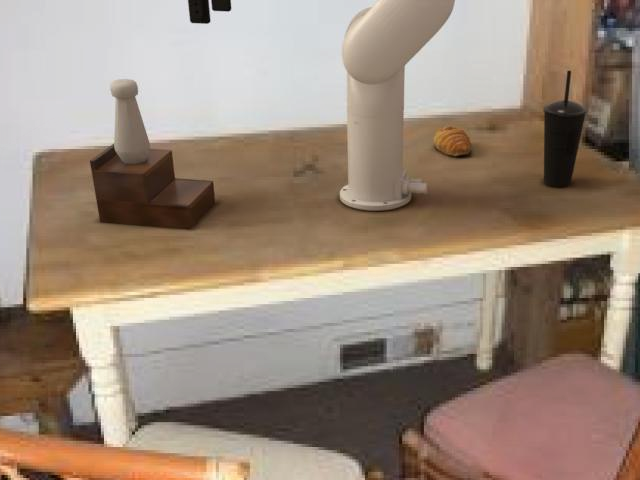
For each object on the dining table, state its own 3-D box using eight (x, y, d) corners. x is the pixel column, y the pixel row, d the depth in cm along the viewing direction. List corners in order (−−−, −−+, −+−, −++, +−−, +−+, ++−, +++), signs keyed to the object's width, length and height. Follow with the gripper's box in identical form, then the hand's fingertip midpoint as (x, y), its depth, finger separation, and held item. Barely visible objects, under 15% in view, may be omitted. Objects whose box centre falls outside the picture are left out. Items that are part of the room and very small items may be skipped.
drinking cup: (583, 179, 171) (596, 68, 161) (572, 192, 166) (586, 78, 155) (542, 173, 174) (553, 63, 164) (530, 186, 168) (541, 74, 158)
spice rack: (215, 202, 163) (209, 143, 157) (190, 229, 153) (183, 167, 147) (130, 196, 165) (121, 137, 160) (99, 222, 156) (89, 160, 150)
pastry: (479, 156, 183) (480, 137, 181) (447, 160, 181) (447, 141, 179) (460, 141, 190) (461, 123, 188) (429, 145, 188) (430, 127, 186)
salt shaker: (143, 166, 152) (132, 86, 145) (110, 164, 153) (98, 84, 146) (157, 155, 157) (147, 76, 150) (125, 153, 158) (114, 75, 151)
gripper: (203, -97, 132) (214, 29, 141) (242, -108, 147) (250, 7, 156) (154, -98, 134) (168, 27, 143) (198, -108, 148) (208, 5, 157)
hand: (211, 16), depth 149 cm, fingers open, 9 cm apart
